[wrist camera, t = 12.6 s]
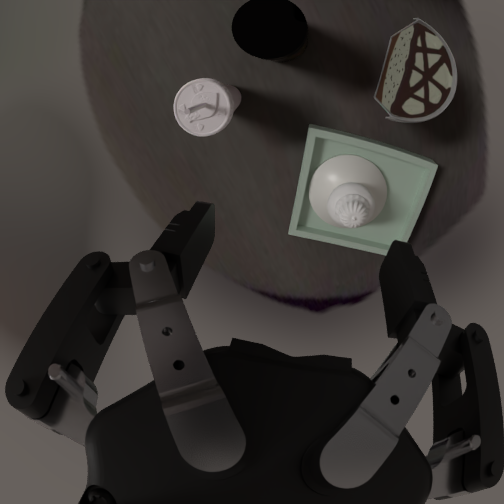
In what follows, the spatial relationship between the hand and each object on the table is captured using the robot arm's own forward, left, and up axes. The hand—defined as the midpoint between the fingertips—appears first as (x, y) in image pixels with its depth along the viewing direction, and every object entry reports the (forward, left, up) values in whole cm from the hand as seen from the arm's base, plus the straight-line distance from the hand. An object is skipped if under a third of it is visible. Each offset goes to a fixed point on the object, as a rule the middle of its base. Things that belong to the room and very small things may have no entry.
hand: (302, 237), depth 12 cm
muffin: (+8, +7, -25) cm, 27 cm away
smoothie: (-2, -11, -27) cm, 29 cm away
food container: (-10, +11, -27) cm, 30 cm away
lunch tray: (+8, +9, -27) cm, 29 cm away
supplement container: (-11, -5, -27) cm, 29 cm away
